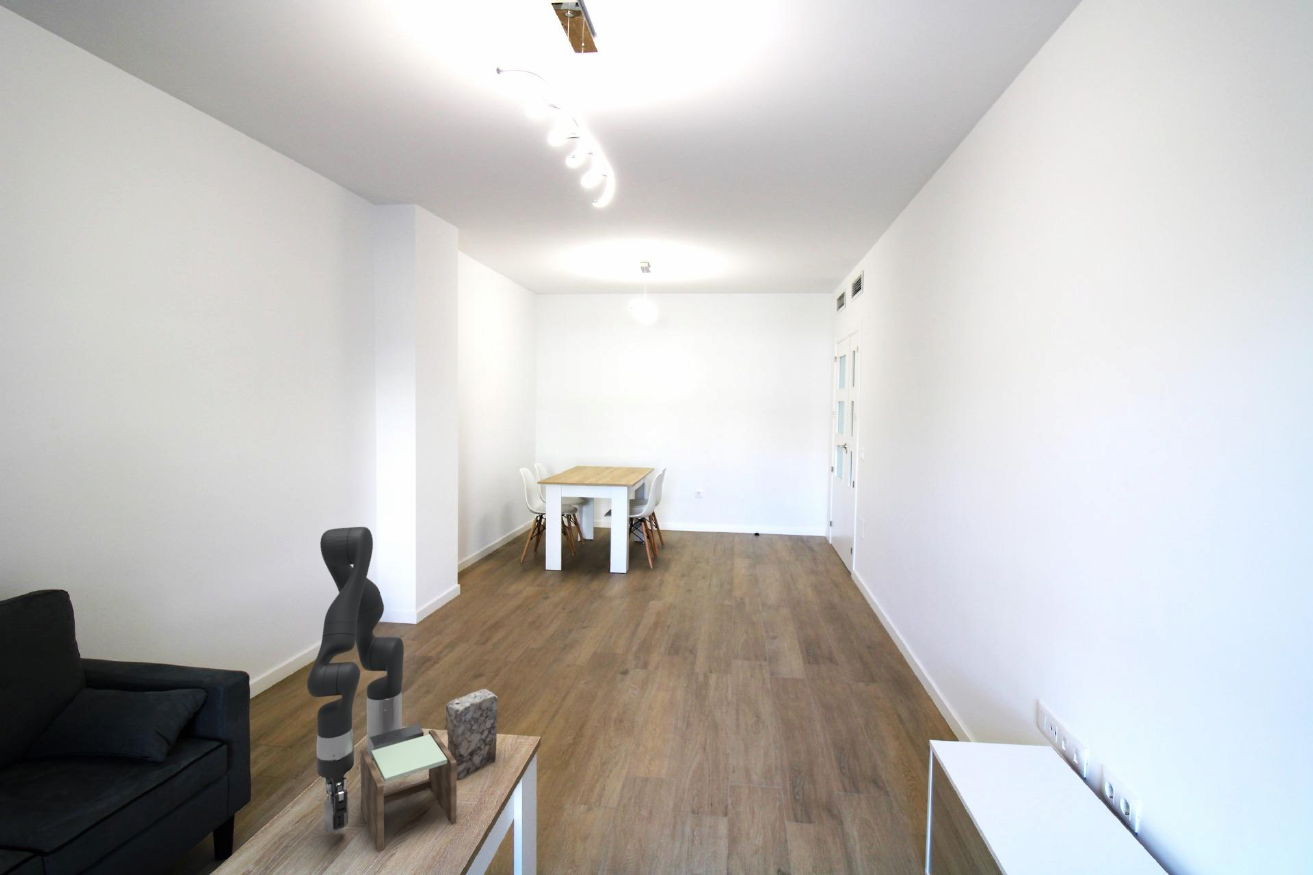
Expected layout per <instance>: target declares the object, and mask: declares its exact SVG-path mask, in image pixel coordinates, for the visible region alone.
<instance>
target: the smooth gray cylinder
mask: <svg viewBox="0 0 1313 875" xmlns="http://www.w3.org/2000/svg"><path fill="white" fill-rule="evenodd" d="M332 799H334V797H332ZM349 819H350V818H349V796H348V795H347V813H344V826H343V827H342V828H339V829H336V830H334V829H333V814H332V804H330V803H329V798H327V799H326V800H324V802H323V829H324V830H325V831H326V832H337V831H340V830H342V829H344V828H346V826H347V825H348V824H349V822H350V821H349Z"/></svg>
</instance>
